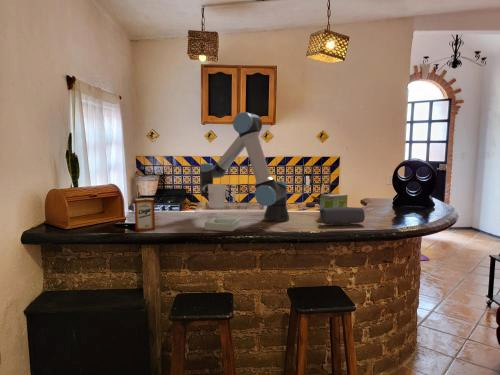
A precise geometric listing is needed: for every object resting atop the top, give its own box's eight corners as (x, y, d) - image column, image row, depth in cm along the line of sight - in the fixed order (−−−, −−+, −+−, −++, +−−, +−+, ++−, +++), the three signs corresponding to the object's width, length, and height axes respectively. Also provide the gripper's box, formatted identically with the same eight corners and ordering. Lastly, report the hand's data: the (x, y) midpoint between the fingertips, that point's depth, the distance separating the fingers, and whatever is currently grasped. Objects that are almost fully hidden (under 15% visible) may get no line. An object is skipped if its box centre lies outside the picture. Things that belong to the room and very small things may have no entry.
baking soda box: (135, 230, 183) (134, 199, 181) (135, 228, 189) (134, 198, 187) (154, 229, 185) (154, 199, 184) (154, 227, 192) (153, 197, 190)
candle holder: (204, 207, 190) (204, 185, 189) (213, 205, 199) (213, 183, 198) (221, 208, 186) (220, 185, 185) (229, 206, 195) (229, 184, 194)
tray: (240, 225, 197) (240, 219, 197) (232, 231, 183) (232, 224, 183) (214, 224, 201) (214, 217, 201) (204, 229, 186) (204, 222, 186)
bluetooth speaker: (357, 222, 207) (357, 205, 206) (364, 226, 198) (365, 208, 197) (319, 224, 203) (319, 206, 202) (325, 227, 194) (326, 209, 193)
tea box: (332, 220, 212) (333, 196, 211) (319, 218, 220) (319, 194, 218) (347, 218, 222) (347, 194, 221) (333, 215, 230) (334, 192, 228)
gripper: (228, 196, 213) (238, 201, 191) (192, 197, 206) (199, 202, 185) (228, 183, 212) (238, 187, 191) (191, 184, 205) (198, 188, 184)
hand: (219, 194), depth 188 cm, fingers closed on candle holder, 9 cm apart
